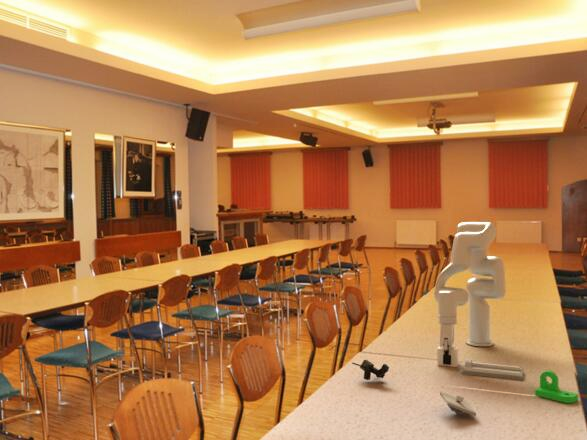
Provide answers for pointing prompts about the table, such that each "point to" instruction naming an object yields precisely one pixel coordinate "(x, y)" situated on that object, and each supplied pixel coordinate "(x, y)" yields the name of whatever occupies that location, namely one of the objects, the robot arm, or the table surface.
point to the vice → (372, 369)
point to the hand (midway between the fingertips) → (447, 361)
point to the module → (452, 352)
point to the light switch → (457, 404)
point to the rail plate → (492, 370)
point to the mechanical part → (554, 389)
